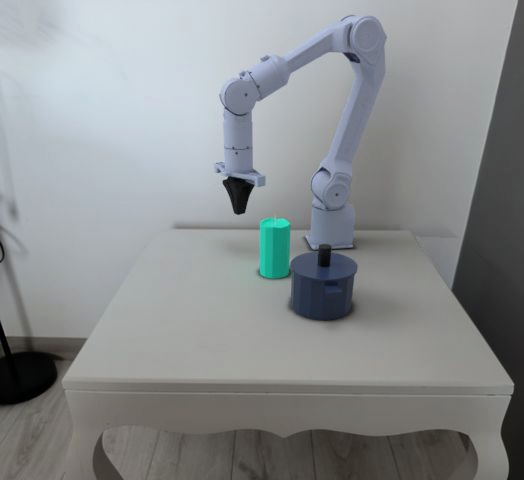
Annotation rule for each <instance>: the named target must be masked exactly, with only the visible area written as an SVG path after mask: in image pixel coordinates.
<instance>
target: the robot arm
mask: <svg viewBox="0 0 524 480" xmlns="http://www.w3.org/2000/svg"><path fill="white" fill-rule="evenodd" d="M387 39H388V36H387V34H386V32H385V30H384V27H383V25H382V23H381V21H380V20H379V19H378V18H377V17H376V16H373V15H355V14H348V15H345V16H343V17H342V18H341V19H340V20H335V21H333V22H331V23H330V24H328V25H326V26H325V27H323V28H321V29H320V30H319V31H317V32H316V33H314V34H313V35H312V36H310V37H309V38H307V39H306V40H304V41H303V42H301V43H300V44H298V45H297V46H296V47H294V48H292V49H291V50H289V52H287V53H285V54H284V55H282V56H280V55H278V54H276V53H272V54H270V55H268V54H266V53H265V54H263V55H262V56H260V59H259V60H260V61H259V62H257V63H256V64H255V65H253V66H251V67H249V68H248V69H247V70H244V69H241V70H240V71H238V76H239V77H231V78H229V79H226V80H225V82H224V83H223V85H222V86H221V88H220V93H219V94H218V95H219V96H218V97H219V101H220V103H221V105H222V106H223V111H222V112H223V113H222V117H223V120H222V128H223V129H222V132H223V133H222V134H223V155H224V157H223V158H224V161H218V162H214V163H213V169H214V173H216V174H220V175H221V176H223V177H226V179H223V180H221V181H222V183H221V184H222V185H223V188H225V190H226V192H227V195H228V197H229V201H230V204H231V207H232V211H233V214H234V215H237V216H240V215H243V214H246V211H247V207H248V202H249V200H250V196H251V194H252V191H253V190H254V187H256V188H262V187H266V175H265V174H262V173H260V172H259V171H258V170H256V169H255V168H254V152H253V151H254V148H253V147H254V145H253V140H254V139H253V112H252V111H253V109H254V108H255V106H256V103H257V102H259V103H260V102H261V101H262V100H264V99H265V98H267V97H269V96H271V95H272V94H274V93H275V92H277V91H279V90H280V89H282V88H283V87H285V86H286V85H288V83H289V80H290V77H291V74H292V73H294V72H296V71H298V70H301V68H303V67H305V66H306V65H308V64H311V63H312V62H314V61H315V60H317V59H319V58H321V57H323V56H325V55H326V54H328V53H340V54H343V55H344V56H345V58H346V59H347V60H348V62H349V64H350V66H351V69H352V70H353V73H354V74H355V77H354V80H353V83H352V85H351V89H350V91H349V94H348V97H347V100H346V102H345V106H344V109H343V111H342V113H341V116H340V120H339V122H338V125H337V128H336V131H335V134H334V136H333V139H332V143H331V145H330V148H329V150H328V154H327V155H326V156H325V157H324V158H323V159H322V160H321V161H320V164H319V167H318V169H317V170H316V171H315V172H314V173H313V174H312V176H311V178H310V180H309V188H310V191H311V193H312V194H313V200H311V201H312V202H311V217H310V218H311V219H310V233H309V234H306V235H305V236H304V237H305V239H306V241H307V243H308V244H309V246H310V248H311V250H314V251H315V250H318V249H319V245H320V244H329V245H331V246H332V250H335V249H336V250H337V249H351V248H352V249H353V248H354V245H353V244H354V232H355V224H356V211H355V207H354V204H352V203H348V202H349V200H350V197H351V184H352V181H353V178H354V177H353V168H352V165H353V161H354V159H355V157H356V153H357V150H358V148H359V145H360V142H361V140H362V137H363V134H364V132H365V129H366V127H367V124H368V121H369V118H370V117H371V113H372V110H373V108H374V105H375V102H376V100H377V97H378V95H379V92H380V89H381V86H382V84H383V82H384V78H385V76H386V75H385V74H386V53H385V51H386V50H385V47H386V46H385V45H386V43H387Z"/></svg>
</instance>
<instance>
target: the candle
mask: <svg viewBox="0 0 524 480" xmlns="http://www.w3.org/2000/svg"><path fill="white" fill-rule="evenodd" d="M291 227H292V226H291V222H289V221H288V220H287V219H285V218H277V216H276V214H274V217H268V218H264V219H262V220H260V222H259V274H260V275H261V276H262V277H264V278H267V279H272V280H273V279H275V280H276V279H282V278H286V277H288V275H289V274H290V253H291V249H290V248H291Z"/></svg>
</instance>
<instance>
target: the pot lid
mask: <svg viewBox="0 0 524 480" xmlns="http://www.w3.org/2000/svg"><path fill="white" fill-rule="evenodd" d="M317 250H318V251H310V252H304V253H301V254H298V255H296V256H295V257H293V258H292V259H291V260H290V262H289V269H290V271H291V272H292V271H293V272H294V273H295V274H296V275H298V276H300V277H302V278H305V279H308V280H312V281H319V282H336V281H342V280H346V279H348V278H351V277H352V276H354V275H355V276H356V274H357V273H358V268H359V267H358V264H357V262H356V261H355V260H354V259H353V258H351V257H350V256H347V255H344V254H341V253H338V252H332V250H333V249H332V246H331V245H329V244H320V245H319V249H317Z"/></svg>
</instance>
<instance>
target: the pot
mask: <svg viewBox="0 0 524 480" xmlns="http://www.w3.org/2000/svg"><path fill="white" fill-rule="evenodd" d="M355 276H356V274H355V275H354V276H352V277H351V278H348V279H346V280H342V281H336V282H319V281H312V280H308V279H305V278H302V277H300V276H298V275H296V274H295V273H294V272H293V271H292V270H291V283H290V307H291V309H292V311H294V313H296V314H298V315H299V316H301V317H304V318H306V319H310V320H315V321H316V320H317V321H332V320H337V319H340V318H343V317H345V316H346V315H348V314H349V313H350V311H351V307H352V302H353V294H354V284H355Z"/></svg>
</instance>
